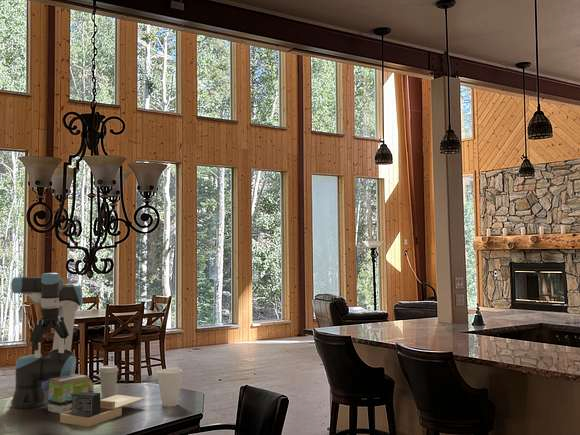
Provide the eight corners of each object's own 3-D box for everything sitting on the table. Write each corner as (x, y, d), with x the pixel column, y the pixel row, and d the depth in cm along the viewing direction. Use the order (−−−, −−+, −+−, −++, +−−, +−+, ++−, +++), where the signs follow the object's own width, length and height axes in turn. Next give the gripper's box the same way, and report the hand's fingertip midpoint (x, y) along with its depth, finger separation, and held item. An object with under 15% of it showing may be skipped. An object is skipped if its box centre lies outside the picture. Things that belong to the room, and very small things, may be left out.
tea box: (61, 414, 276) (62, 380, 277) (47, 411, 281) (48, 378, 282) (89, 407, 289) (89, 375, 290) (74, 404, 294) (75, 373, 295)
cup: (168, 400, 299) (168, 367, 300) (187, 403, 293) (187, 369, 294) (151, 406, 289) (151, 371, 290) (171, 409, 283) (171, 374, 284)
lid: (85, 405, 276) (85, 398, 276) (117, 395, 295) (117, 389, 295) (114, 409, 269) (114, 402, 269) (144, 399, 287) (144, 392, 287)
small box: (101, 416, 267) (101, 392, 268) (92, 420, 261) (93, 395, 262) (79, 415, 270) (80, 391, 271) (70, 419, 264) (71, 394, 264)
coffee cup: (122, 396, 310) (122, 366, 311) (107, 400, 302) (107, 369, 303) (109, 394, 315) (109, 364, 316) (94, 397, 307) (94, 367, 308)
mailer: (60, 422, 263) (60, 414, 263) (94, 411, 281) (94, 403, 281) (88, 426, 256) (88, 418, 256) (121, 415, 273) (121, 407, 274)
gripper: (33, 310, 264) (33, 360, 263) (77, 305, 287) (76, 351, 286) (21, 309, 267) (20, 359, 266) (65, 304, 290) (64, 350, 289)
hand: (49, 355), depth 276 cm, fingers open, 13 cm apart
